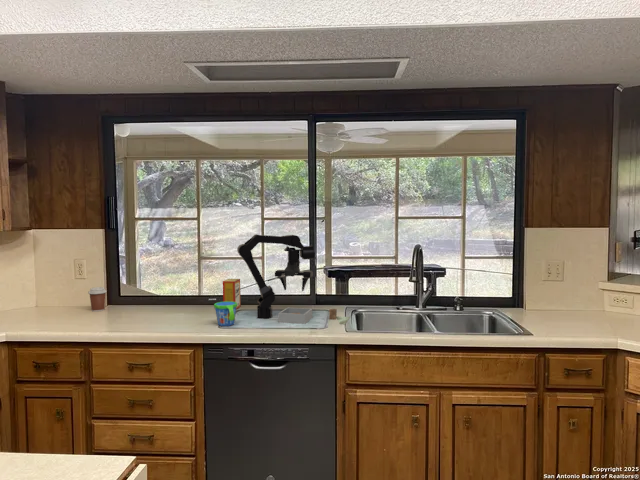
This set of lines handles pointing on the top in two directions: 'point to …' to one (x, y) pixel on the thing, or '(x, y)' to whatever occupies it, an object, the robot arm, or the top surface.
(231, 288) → the baking soda box
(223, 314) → the snack cup
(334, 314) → the lid
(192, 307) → the top surface
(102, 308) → the coffee cup
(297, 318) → the bin
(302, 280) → the robot arm
